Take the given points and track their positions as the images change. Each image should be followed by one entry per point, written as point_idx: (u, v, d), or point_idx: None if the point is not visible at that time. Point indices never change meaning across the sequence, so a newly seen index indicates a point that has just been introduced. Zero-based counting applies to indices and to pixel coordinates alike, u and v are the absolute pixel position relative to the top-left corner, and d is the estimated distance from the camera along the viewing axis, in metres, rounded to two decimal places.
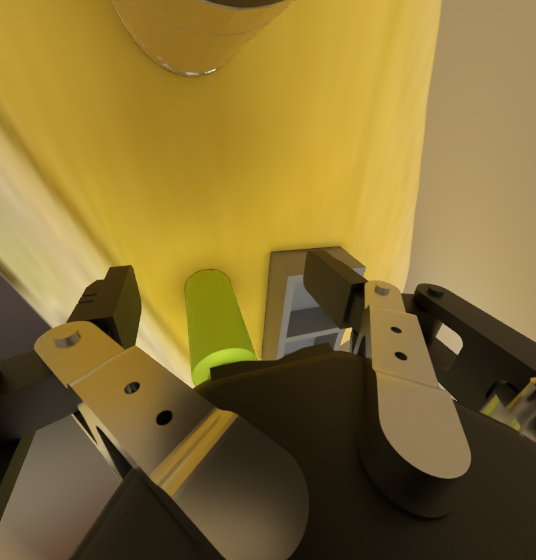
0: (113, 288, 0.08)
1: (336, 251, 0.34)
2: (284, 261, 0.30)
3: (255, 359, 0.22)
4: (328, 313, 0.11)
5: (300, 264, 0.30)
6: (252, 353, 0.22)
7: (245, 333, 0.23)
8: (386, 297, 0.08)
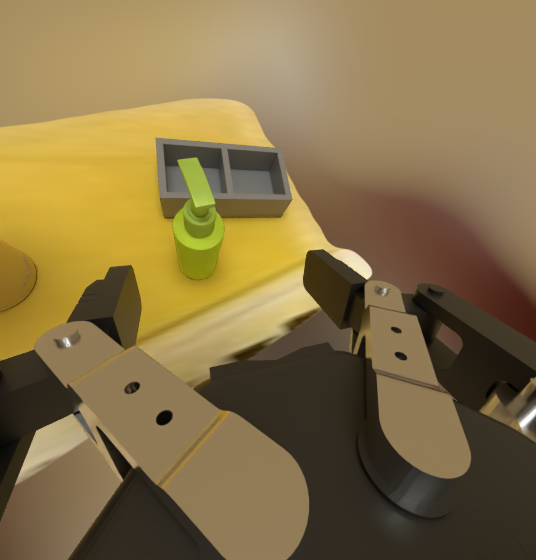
0: (113, 288, 0.08)
1: None
2: None
3: None
4: (328, 313, 0.11)
5: None
6: (182, 208, 0.29)
7: None
8: (386, 297, 0.08)
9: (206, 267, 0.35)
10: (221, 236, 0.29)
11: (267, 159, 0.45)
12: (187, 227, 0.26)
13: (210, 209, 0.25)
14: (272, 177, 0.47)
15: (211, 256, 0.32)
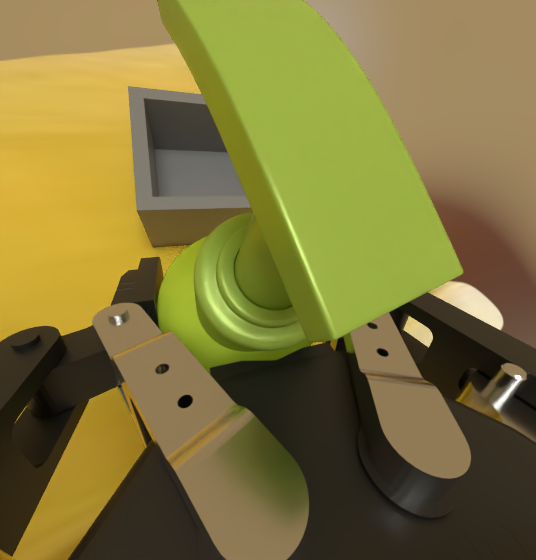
0: (148, 276, 0.09)
1: None
2: None
3: None
4: None
5: None
6: (189, 247, 0.09)
7: None
8: None
9: None
10: None
11: None
12: (212, 333, 0.07)
13: None
14: None
15: None
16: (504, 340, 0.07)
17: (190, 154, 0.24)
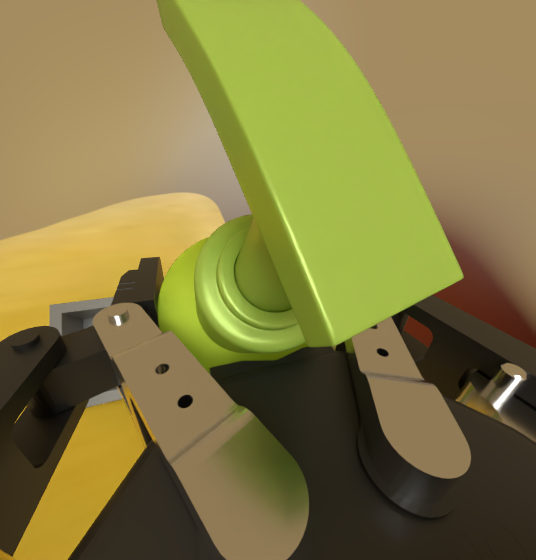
0: (148, 276, 0.09)
1: None
2: None
3: None
4: None
5: None
6: (189, 248, 0.09)
7: None
8: None
9: None
10: None
11: None
12: (212, 335, 0.07)
13: None
14: None
15: None
16: (505, 340, 0.07)
17: None
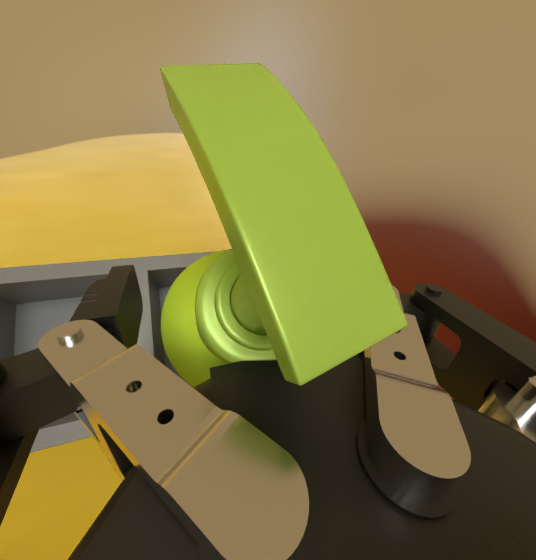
0: (115, 287, 0.08)
1: None
2: None
3: (209, 256, 0.10)
4: None
5: None
6: (190, 265, 0.10)
7: None
8: None
9: None
10: None
11: None
12: (210, 350, 0.07)
13: None
14: None
15: None
16: None
17: (66, 303, 0.20)
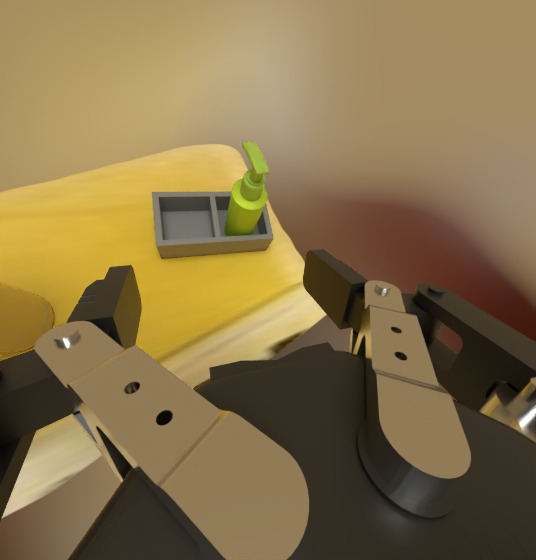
0: (113, 288, 0.08)
1: None
2: None
3: (242, 179, 0.40)
4: (328, 313, 0.11)
5: None
6: (237, 181, 0.40)
7: None
8: (386, 297, 0.08)
9: (249, 229, 0.46)
10: (265, 200, 0.40)
11: None
12: (244, 192, 0.37)
13: (261, 178, 0.36)
14: None
15: (256, 217, 0.43)
16: None
17: (179, 213, 0.50)
